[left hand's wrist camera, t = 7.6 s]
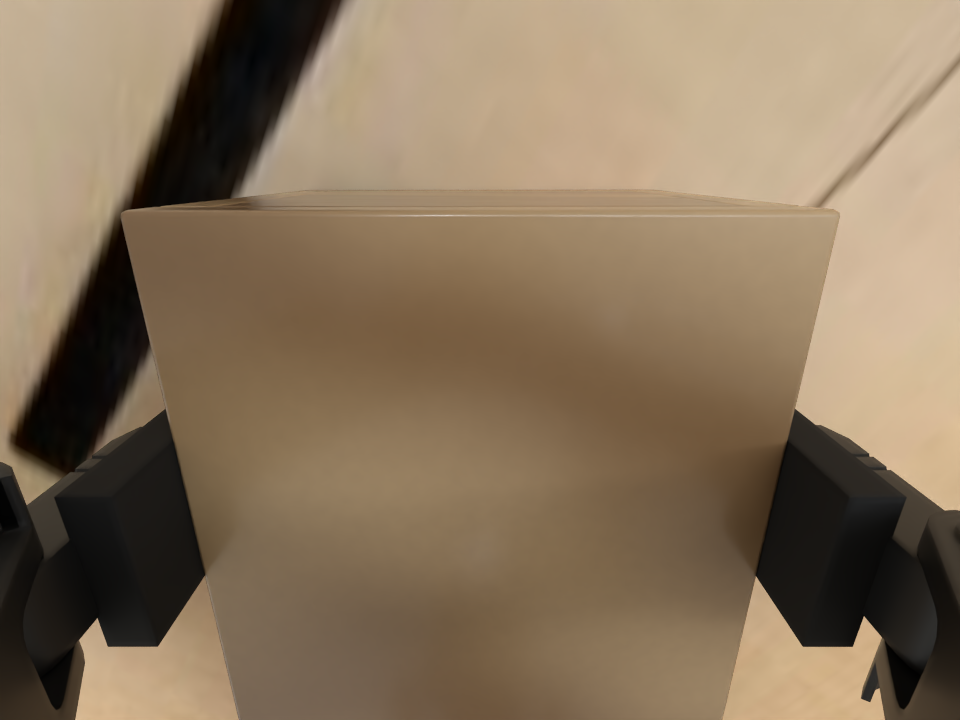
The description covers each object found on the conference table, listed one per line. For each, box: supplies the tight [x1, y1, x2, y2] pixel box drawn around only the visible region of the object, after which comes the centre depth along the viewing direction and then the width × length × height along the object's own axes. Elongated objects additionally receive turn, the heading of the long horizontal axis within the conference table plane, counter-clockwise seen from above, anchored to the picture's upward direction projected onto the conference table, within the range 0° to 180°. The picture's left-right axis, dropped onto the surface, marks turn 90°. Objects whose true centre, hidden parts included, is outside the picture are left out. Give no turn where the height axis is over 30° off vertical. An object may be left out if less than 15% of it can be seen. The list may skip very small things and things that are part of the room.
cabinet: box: [121, 190, 840, 720], centre depth 14 cm, size 21×10×8 cm, turn 0°
